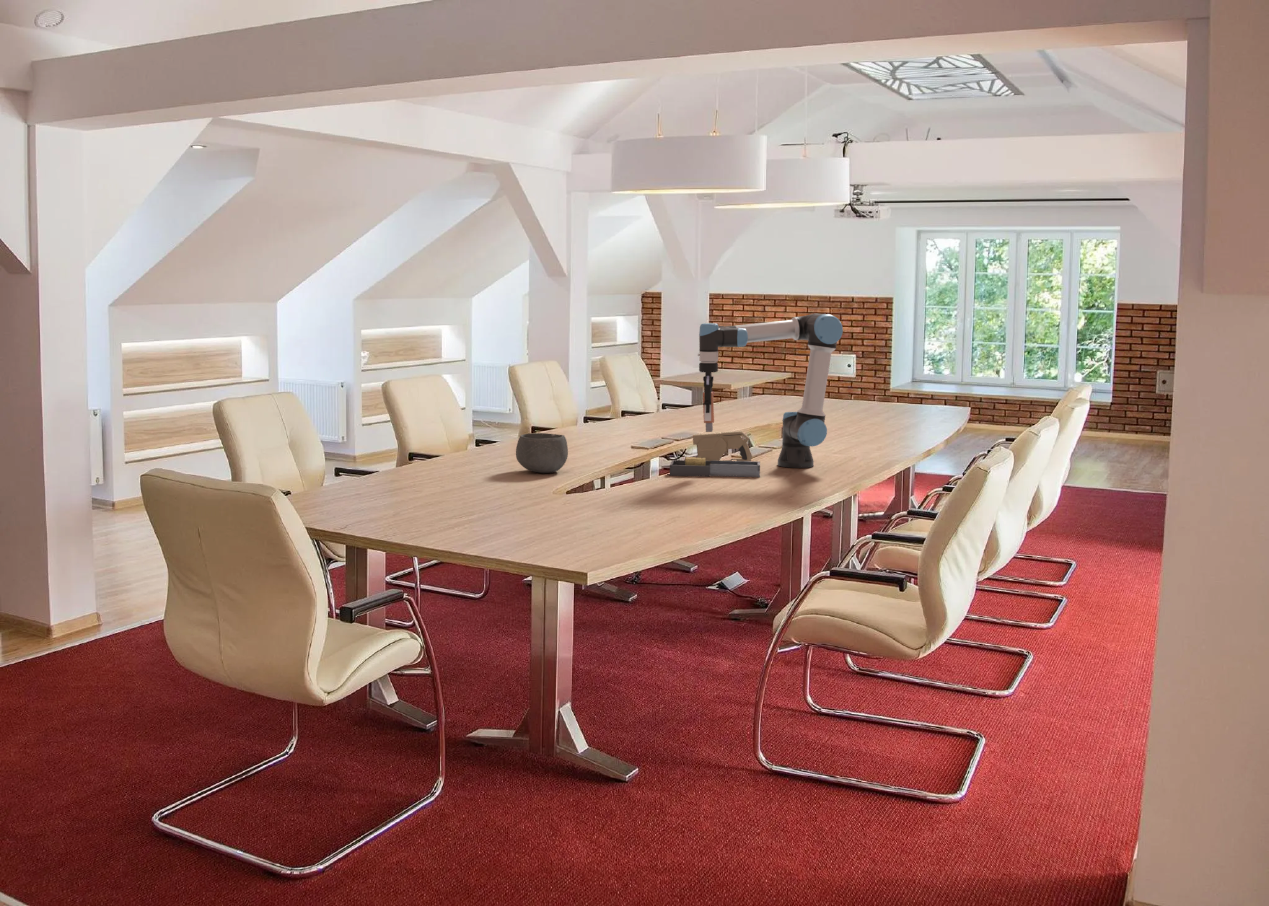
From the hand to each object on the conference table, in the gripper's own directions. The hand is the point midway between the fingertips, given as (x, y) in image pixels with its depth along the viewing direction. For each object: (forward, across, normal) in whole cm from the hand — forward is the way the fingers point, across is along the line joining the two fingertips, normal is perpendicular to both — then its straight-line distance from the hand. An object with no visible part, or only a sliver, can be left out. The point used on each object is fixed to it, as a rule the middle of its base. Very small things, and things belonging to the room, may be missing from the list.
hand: (708, 420), depth 491 cm
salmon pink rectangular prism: (+4, 0, +1) cm, 4 cm away
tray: (+22, 0, -7) cm, 23 cm away
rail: (+22, 0, +11) cm, 25 cm away
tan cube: (+20, +1, -3) cm, 20 cm away
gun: (+22, -23, +5) cm, 32 cm away
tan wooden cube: (+20, 0, -7) cm, 21 cm away
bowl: (+22, +6, -67) cm, 71 cm away
